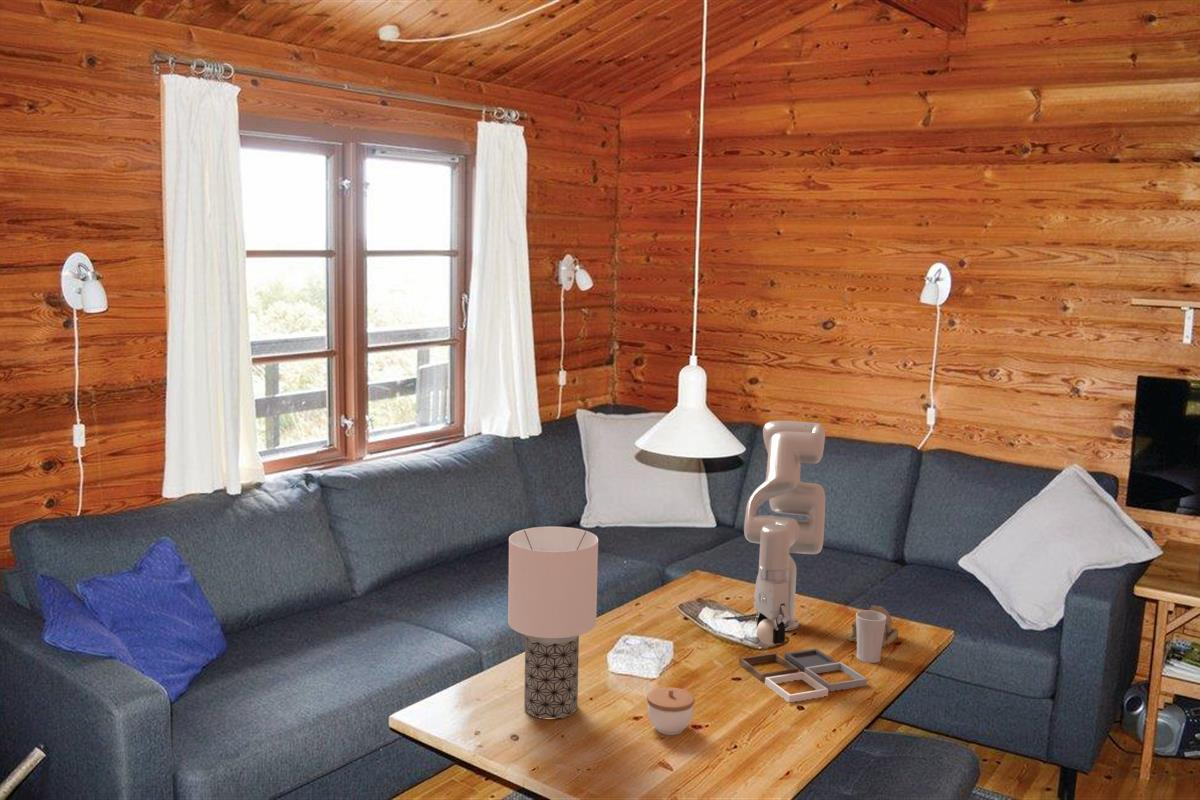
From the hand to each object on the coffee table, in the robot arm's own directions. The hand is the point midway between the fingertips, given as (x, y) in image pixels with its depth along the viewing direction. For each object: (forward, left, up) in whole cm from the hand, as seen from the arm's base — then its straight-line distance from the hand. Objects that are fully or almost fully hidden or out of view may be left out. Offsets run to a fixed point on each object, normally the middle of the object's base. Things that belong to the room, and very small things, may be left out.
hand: (770, 636), depth 271 cm
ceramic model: (-9, +39, -9) cm, 41 cm away
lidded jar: (+22, -40, -9) cm, 46 cm away
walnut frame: (+1, -1, -9) cm, 9 cm away
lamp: (+3, -62, -9) cm, 62 cm away
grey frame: (+12, +12, -9) cm, 19 cm away
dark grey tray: (+1, +12, -9) cm, 15 cm away
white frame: (+14, -1, -9) cm, 16 cm away
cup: (+3, +29, -9) cm, 31 cm away
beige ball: (0, 0, -2) cm, 2 cm away
